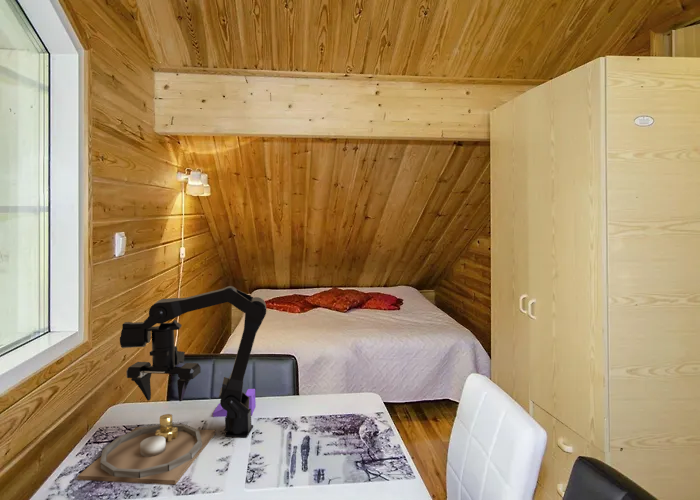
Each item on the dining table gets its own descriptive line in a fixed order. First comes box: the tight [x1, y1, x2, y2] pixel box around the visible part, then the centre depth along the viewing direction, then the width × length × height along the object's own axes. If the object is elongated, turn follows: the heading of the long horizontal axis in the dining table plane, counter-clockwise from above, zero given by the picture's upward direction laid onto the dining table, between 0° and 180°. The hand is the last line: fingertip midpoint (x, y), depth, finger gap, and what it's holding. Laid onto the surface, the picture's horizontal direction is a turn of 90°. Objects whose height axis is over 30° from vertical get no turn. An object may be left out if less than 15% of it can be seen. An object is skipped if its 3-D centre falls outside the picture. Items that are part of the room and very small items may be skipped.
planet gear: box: [155, 413, 178, 442], centre depth 120 cm, size 6×6×6 cm
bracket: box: [212, 388, 257, 418], centre depth 139 cm, size 12×7×7 cm, turn 93°
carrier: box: [77, 423, 217, 485], centre depth 114 cm, size 24×24×4 cm
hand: (164, 400), depth 121 cm, fingers open, 9 cm apart
